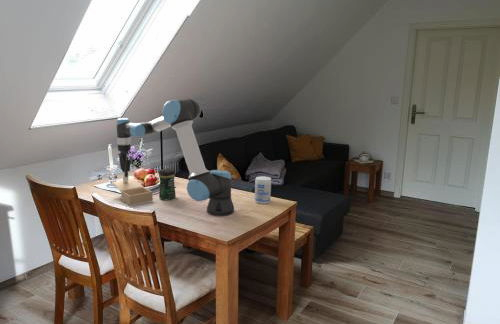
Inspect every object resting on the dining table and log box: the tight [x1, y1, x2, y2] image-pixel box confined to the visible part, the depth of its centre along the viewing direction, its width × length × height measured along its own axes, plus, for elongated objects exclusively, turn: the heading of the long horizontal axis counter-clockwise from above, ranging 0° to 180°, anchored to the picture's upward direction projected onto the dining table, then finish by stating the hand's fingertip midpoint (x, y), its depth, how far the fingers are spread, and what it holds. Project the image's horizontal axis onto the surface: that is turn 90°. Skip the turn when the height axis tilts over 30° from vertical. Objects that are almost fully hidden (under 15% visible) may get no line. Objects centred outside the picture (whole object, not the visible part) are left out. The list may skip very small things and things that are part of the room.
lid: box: [111, 177, 144, 192], centre depth 238 cm, size 12×14×1 cm
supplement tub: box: [254, 175, 272, 205], centre depth 232 cm, size 10×10×15 cm
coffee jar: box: [158, 167, 177, 201], centre depth 235 cm, size 10×8×19 cm
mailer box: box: [120, 186, 154, 207], centre depth 230 cm, size 12×14×6 cm
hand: (125, 181), depth 240 cm, fingers closed
